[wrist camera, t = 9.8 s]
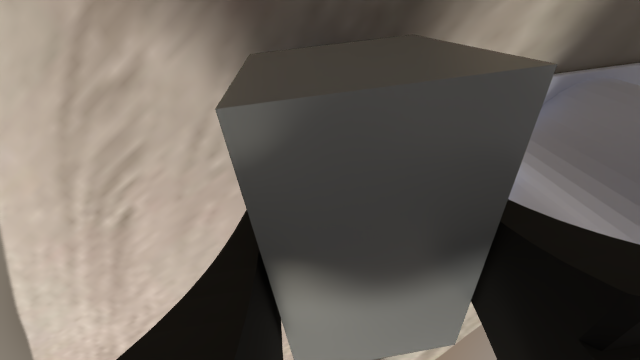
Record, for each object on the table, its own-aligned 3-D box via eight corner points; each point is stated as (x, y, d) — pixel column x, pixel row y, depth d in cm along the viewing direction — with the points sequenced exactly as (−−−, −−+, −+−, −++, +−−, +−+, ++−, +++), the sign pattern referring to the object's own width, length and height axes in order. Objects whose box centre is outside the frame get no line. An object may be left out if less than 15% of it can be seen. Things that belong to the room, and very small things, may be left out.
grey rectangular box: (395, 231, 15) (454, 344, 10) (292, 248, 15) (298, 373, 10) (412, 34, 10) (557, 64, 5) (249, 54, 10) (214, 108, 4)
